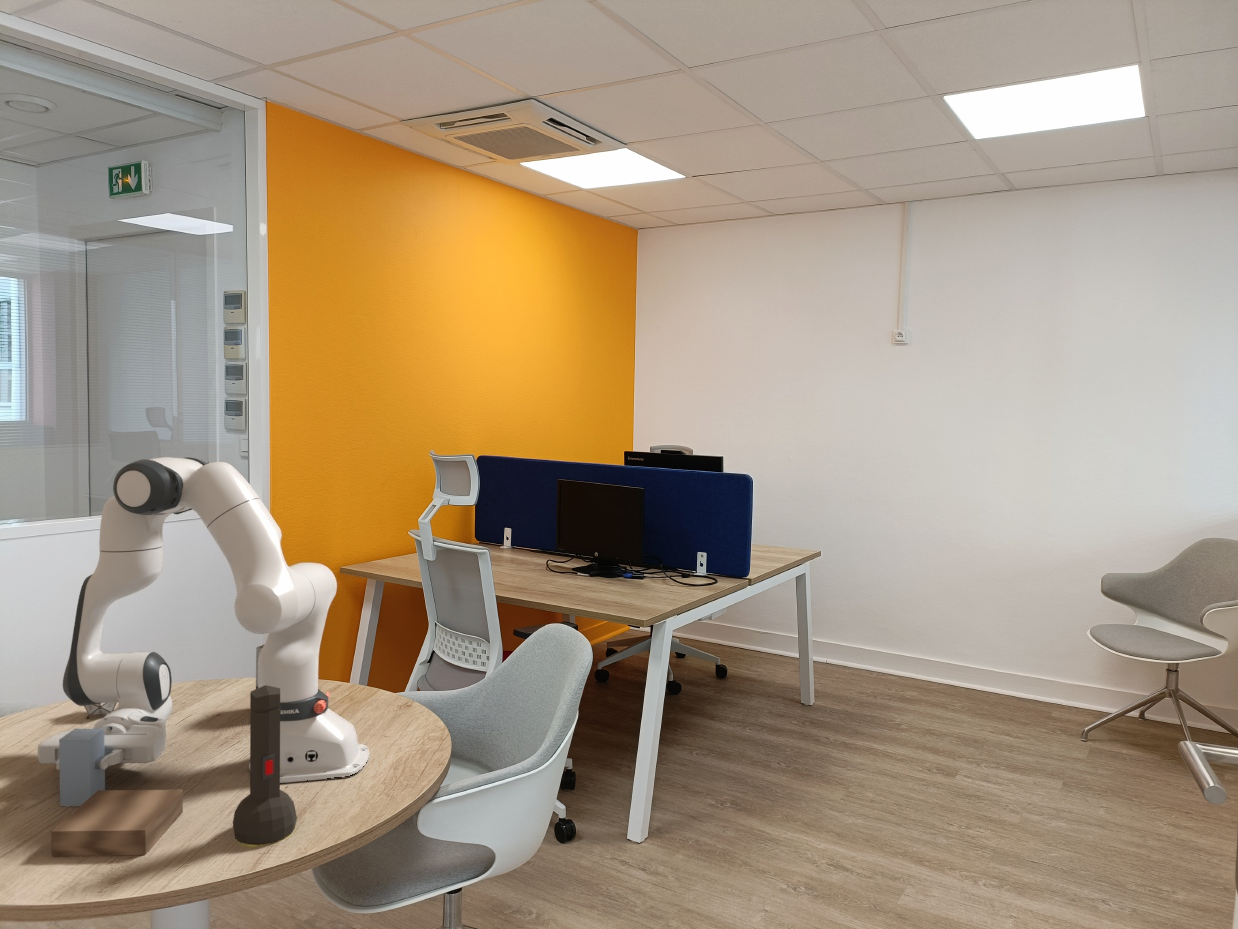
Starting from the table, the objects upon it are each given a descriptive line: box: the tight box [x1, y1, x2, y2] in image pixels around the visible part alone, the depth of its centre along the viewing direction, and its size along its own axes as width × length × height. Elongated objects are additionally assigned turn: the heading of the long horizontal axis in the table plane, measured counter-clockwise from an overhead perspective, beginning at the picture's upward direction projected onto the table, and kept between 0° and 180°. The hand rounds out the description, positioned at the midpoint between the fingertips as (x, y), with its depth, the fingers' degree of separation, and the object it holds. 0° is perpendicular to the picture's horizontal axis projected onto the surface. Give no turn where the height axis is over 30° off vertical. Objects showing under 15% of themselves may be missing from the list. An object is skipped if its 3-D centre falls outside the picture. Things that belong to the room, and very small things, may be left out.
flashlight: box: [232, 685, 298, 846], centre depth 142 cm, size 10×25×10 cm
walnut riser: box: [51, 789, 184, 857], centre depth 141 cm, size 14×14×4 cm
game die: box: [83, 703, 117, 720], centre depth 191 cm, size 9×8×10 cm
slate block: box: [59, 728, 106, 807], centre depth 151 cm, size 5×5×12 cm
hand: (79, 765), depth 150 cm, fingers closed on slate block, 5 cm apart
